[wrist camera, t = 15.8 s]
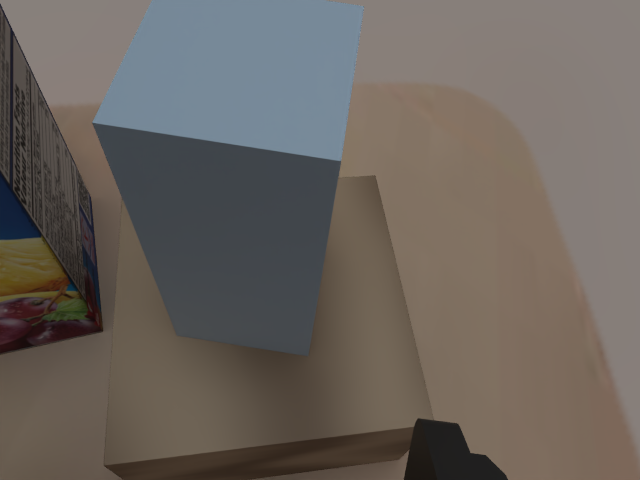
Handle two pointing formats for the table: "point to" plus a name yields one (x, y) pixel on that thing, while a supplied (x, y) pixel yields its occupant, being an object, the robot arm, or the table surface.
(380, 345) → the walnut block
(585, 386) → the table surface
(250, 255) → the slate column
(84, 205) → the juice carton
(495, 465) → the robot arm
